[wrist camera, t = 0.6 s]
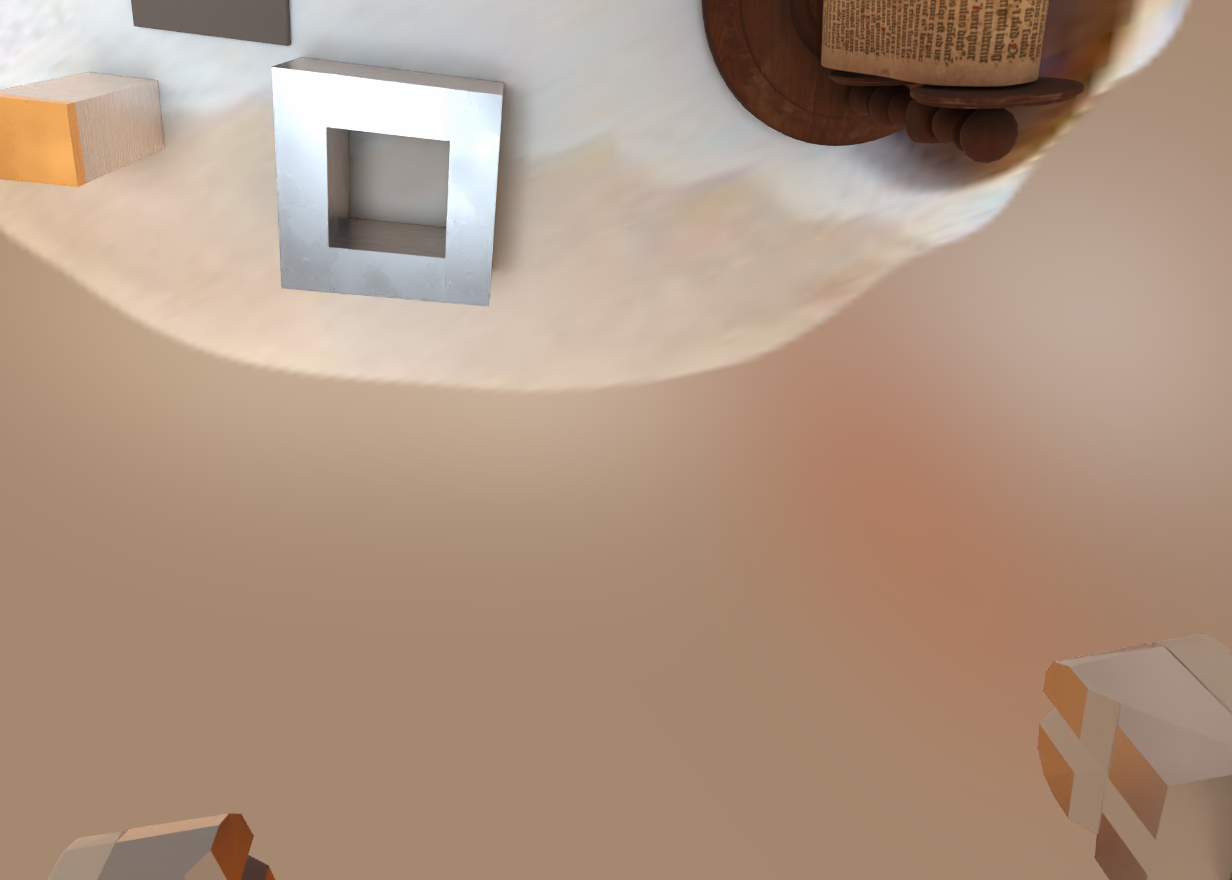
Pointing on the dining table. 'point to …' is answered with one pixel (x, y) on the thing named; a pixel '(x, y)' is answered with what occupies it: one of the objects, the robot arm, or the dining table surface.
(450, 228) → the square frame
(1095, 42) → the dining table surface
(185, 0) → the mat
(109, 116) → the orange tipped grey block
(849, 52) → the scroll
